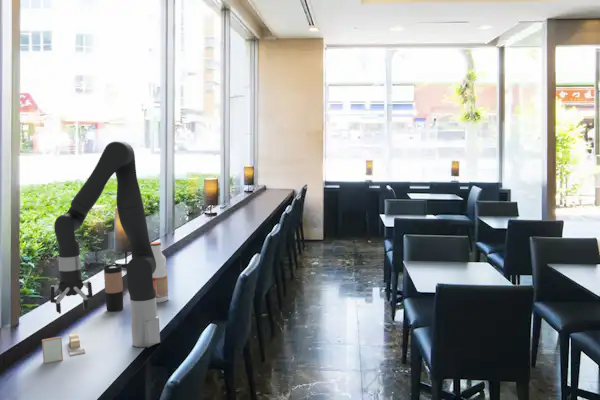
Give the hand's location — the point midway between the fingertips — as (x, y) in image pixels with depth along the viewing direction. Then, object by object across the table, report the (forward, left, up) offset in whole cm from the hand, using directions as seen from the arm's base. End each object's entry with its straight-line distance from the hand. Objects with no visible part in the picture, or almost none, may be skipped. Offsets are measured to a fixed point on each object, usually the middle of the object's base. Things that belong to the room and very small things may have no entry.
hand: (72, 311), depth 197 cm
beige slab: (-2, +1, -13) cm, 13 cm away
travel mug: (+23, -39, -13) cm, 47 cm away
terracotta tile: (-6, +13, -13) cm, 20 cm away
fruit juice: (+16, -59, -13) cm, 63 cm away
